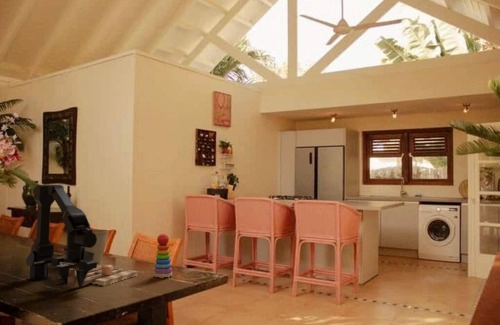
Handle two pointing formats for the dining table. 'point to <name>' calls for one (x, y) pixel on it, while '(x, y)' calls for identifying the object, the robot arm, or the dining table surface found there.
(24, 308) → the dining table surface
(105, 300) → the dining table surface
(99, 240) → the plant pot
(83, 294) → the dining table surface
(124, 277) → the lane board
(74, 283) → the strip
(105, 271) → the pink egg
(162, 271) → the stacking toy
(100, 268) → the strip
